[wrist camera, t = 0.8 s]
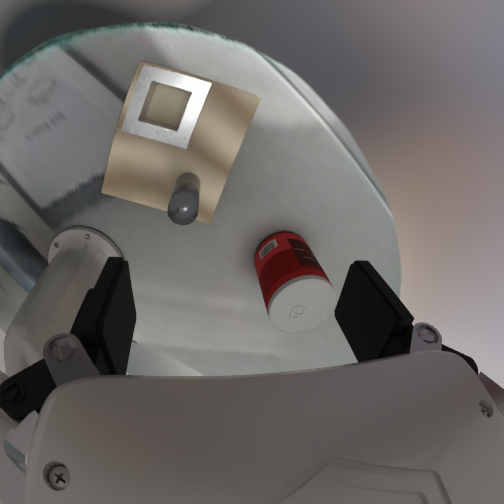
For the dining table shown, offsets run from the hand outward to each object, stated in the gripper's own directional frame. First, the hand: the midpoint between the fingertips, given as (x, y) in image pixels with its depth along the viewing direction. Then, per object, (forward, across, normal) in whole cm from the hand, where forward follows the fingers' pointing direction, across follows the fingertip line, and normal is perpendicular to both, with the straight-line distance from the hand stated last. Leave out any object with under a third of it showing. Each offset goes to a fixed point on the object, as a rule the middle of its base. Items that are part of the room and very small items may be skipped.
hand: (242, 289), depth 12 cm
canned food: (+24, -10, +13) cm, 29 cm away
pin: (+23, +3, +3) cm, 23 cm away
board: (+24, +5, -2) cm, 25 cm away
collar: (+23, +6, -6) cm, 24 cm away
